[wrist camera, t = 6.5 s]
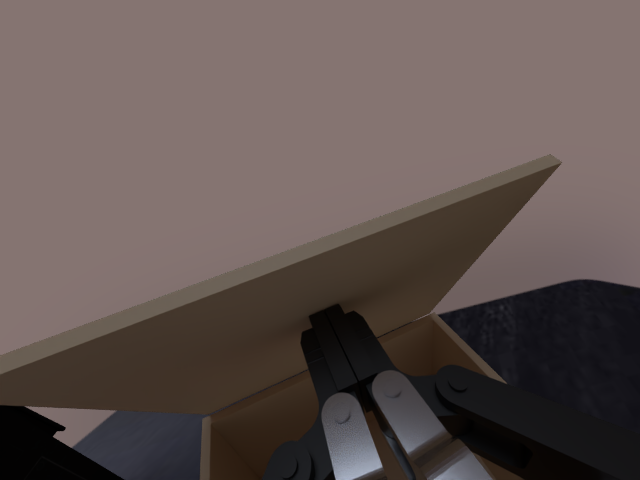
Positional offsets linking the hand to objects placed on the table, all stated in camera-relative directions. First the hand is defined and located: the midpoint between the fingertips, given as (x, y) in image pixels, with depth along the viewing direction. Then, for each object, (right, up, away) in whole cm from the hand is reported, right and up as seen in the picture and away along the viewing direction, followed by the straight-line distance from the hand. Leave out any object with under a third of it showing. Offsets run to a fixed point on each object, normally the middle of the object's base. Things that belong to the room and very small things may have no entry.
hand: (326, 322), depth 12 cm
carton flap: (0, -1, +2) cm, 2 cm away
